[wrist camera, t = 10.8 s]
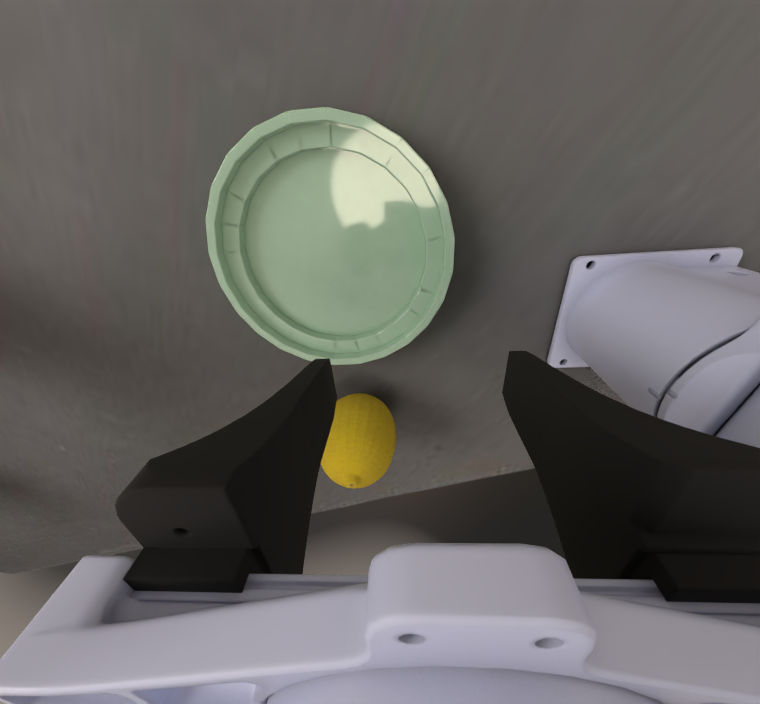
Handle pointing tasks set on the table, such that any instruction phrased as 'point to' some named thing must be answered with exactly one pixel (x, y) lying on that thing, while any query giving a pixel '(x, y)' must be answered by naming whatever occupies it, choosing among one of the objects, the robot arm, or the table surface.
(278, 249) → the plate
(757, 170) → the table surface
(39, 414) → the table surface
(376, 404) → the lemon
